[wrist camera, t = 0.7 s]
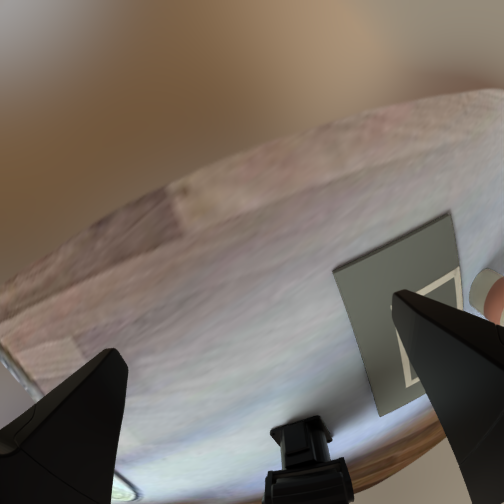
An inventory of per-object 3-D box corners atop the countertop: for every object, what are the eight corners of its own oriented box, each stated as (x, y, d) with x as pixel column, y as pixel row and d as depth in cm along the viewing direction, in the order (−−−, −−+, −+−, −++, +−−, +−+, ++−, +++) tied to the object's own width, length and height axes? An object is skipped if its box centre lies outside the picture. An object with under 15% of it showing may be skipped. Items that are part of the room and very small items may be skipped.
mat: (460, 367, 27) (462, 370, 26) (378, 414, 29) (380, 417, 28) (446, 213, 22) (451, 215, 21) (332, 271, 23) (334, 274, 23)
